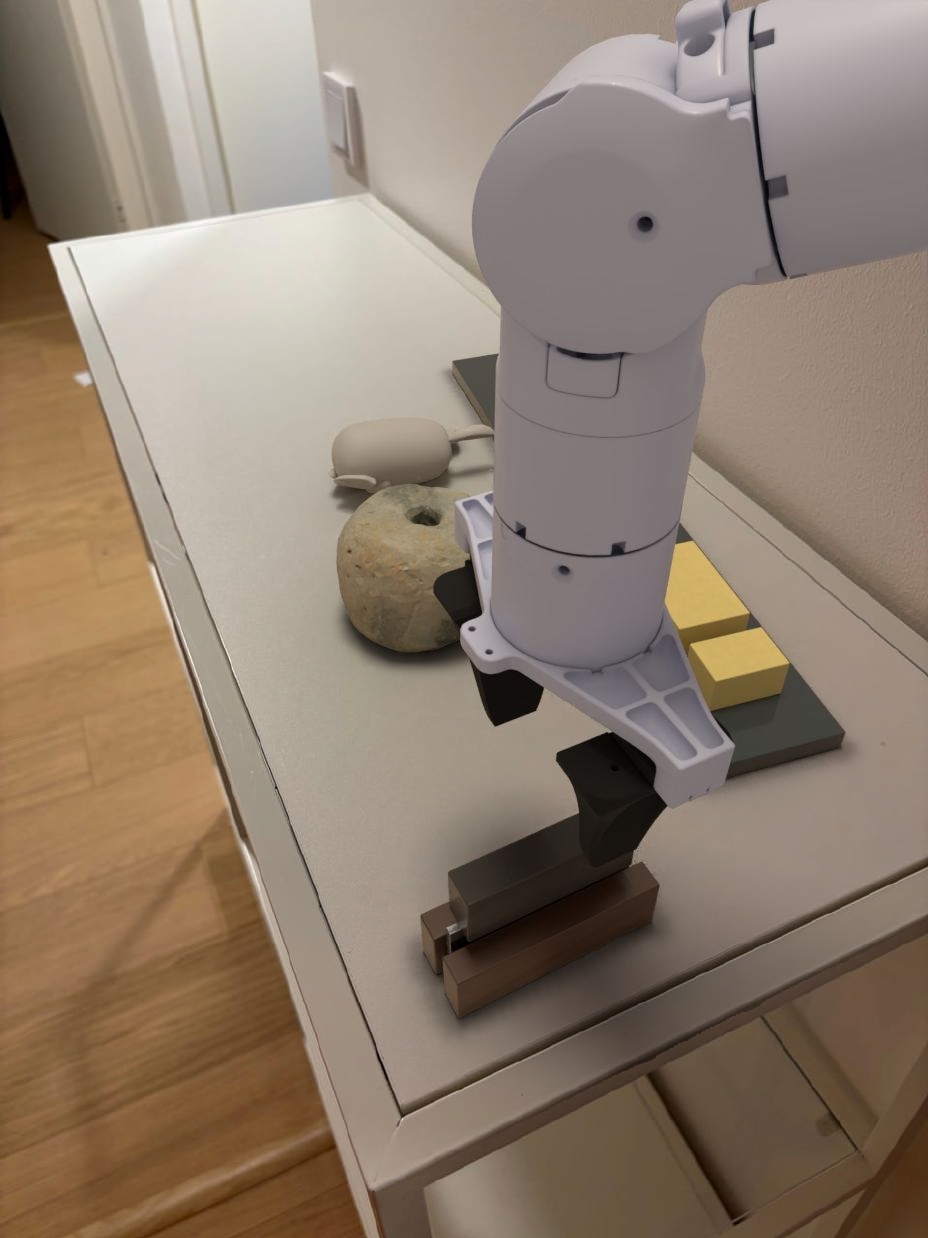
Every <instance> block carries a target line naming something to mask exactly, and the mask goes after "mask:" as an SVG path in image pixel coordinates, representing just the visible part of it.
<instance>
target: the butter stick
mask: <svg viewBox="0 0 928 1238" xmlns="http://www.w3.org/2000/svg"><path fill="white" fill-rule="evenodd" d="M694 541H695V540H694ZM694 541H689V542H684V543H680V544H675V548H674V554H673V559H672V565H671V570H670V576H669V581H668V587H667V592H666V597H665V603H666V606H667V608H668V611H669V613H670V616H671V618H672V621H673V623H674V626H675V628H676V631H677V633H678V636H679V638H680V640H681V643H682V645H683V648H684V650H685V653H686V655H687V656H688V652H689V647H690V644H692V643H696V642H700V641H704V640H709V639H713V638H717V637H721V636H726V635H730V634H734V633H738V632H743V631H746V627H747V623H748V619H749V615H750V612H751V611H750V610H749V611H750V612H749V611H748V610H747V608H748V607H747V606H746V607H747V608H746V607H745V606H744V604H745V603H744V602H743V601H742V602H743V603H744V604H743V603H742V602H741V601H740V599H741V598H740V597H739V596H738V597H739V598H740V599H739V598H738V597H737V596H736V594H737V593H736V592H735V591H734V592H735V593H736V594H735V593H734V592H733V591H732V589H733V588H732V587H731V588H732V589H731V588H730V587H729V585H730V584H729V583H728V582H727V583H728V584H729V585H728V584H727V583H726V582H725V580H726V579H725V578H724V577H723V578H724V579H725V580H724V579H723V578H722V577H721V575H722V574H721V573H720V572H719V573H720V574H721V575H720V574H719V573H718V572H717V570H718V569H717V568H716V569H717V570H716V569H715V568H714V566H715V565H714V564H713V563H712V564H713V565H714V566H713V565H712V564H711V563H710V561H711V560H710V559H709V558H708V559H709V560H710V561H709V560H708V559H707V558H706V556H707V555H706V554H705V553H704V554H705V555H706V556H705V555H704V554H703V553H702V551H703V550H702V549H701V548H700V549H701V550H702V551H701V550H700V549H699V547H700V546H699V545H698V544H697V545H698V546H699V547H698V546H697V545H696V544H695V542H696V541H695V542H694Z"/></svg>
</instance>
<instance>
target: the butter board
mask: <svg viewBox="0 0 928 1238" xmlns="http://www.w3.org/2000/svg"><path fill="white" fill-rule="evenodd" d="M498 354H499V352H497V353H491V354H485V355H479V356H473V357H467V358H461V359H454V360H452V362H451V363H452V367H451V368H452V375H453V376H454V378H455V379H456V381H457V383H458V385H459V386H460V387H461V389H462V391H463V392H464V394H465V396H466V397H467V399H468V400H469V402H470V403H471V405H472V407H473V408H474V410H475V412H476V413H477V415H478V417H479V418H480V420H481V421H482V423H483V425H486V426H488V427H490V428H491V429H493V430H495V386H496V362H497V358H498ZM491 438H492V439H493V440H494V437H491ZM689 541H694V542H695V544H696V545H697V546H698V547H699V549H700V550H701V551H702V553H703V554H704V555H705V556H706V558H707V559H708V560H709V561H710V563H711V564H712V565H713V566H714V568H715V569H716V570H717V572H718V573H719V574H720V575H721V577H722V578H723V579H724V580H725V582H726V583H727V584H728V585H729V587H730V588H731V589H732V591H733V592H734V593H735V594H736V596H737V597H738V598H739V599H740V601H741V602H742V603H743V604H744V606H745V607H746V608H747V610H748V611H749V612H750V615H749V619H748V623H747V627H746V631H747V630H751V629H755V628H760V627H762V628H763V630H764V631H765V632H766V633H767V635H768V636H769V637H770V639H771V640H772V641H773V642H774V644H775V645H776V646H777V647H778V649H779V650H780V651H781V652H782V654H783V655H784V656H785V658H786V659H787V660H788V661H789V663H790V664H789V667H788V671H787V674H786V677H785V681H784V684H783V687H782V691H781V693H780V694H776V695H772V696H768V697H764V698H761V699H757V700H753V701H749V702H745V703H741V704H737V705H733V706H729V707H725V708H721V709H717V710H713V711H710V712H711V713H712V714H713V715H714V716H715V717H716V718H717V719H718V720H719V722H720V723H721V724H722V725H723V726H724V727H725V728H726V729H727V731H728V732H729V733H730V735H731V737H732V740H733V743H734V744H735V748H734V752H733V755H732V759H731V762H730V766H729V769H728V772H727V776H726V778H730V777H734V776H738V775H741V774H744V773H748V772H749V773H750V772H752V771H756V770H760V769H763V768H766V767H770V766H774V765H779V764H781V763H785V762H789V761H793V760H796V759H801V758H804V757H808V756H812V755H816V754H818V753H822V752H826V751H830V750H834V749H839V748H840V747H841V746H842V744H843V741H844V739H845V736H846V735H847V734H846V731H845V729H844V728H843V727H842V726H841V724H840V723H839V721H837V719H836V718H835V717H834V715H833V714H832V713H831V712H830V710H829V709H828V708H827V706H826V705H825V704H824V703H823V701H822V700H821V699H820V697H819V696H818V695H817V693H816V692H815V691H814V690H813V688H811V686H810V685H809V683H808V682H807V681H806V680H805V679H804V677H803V676H802V675H801V673H800V672H799V671H798V669H797V668H796V667H795V666H794V664H793V663H792V662H791V661H790V659H789V658H788V657H787V656H786V655H785V654H784V652H783V651H782V650H781V648H780V647H779V645H777V643H776V642H775V641H774V640H773V638H772V637H771V636H770V635H769V633H768V632H767V630H766V629H765V628H764V626H763V625H762V624H761V623H760V622H759V620H758V619H757V618H756V616H754V615H753V613H752V611H751V610H750V609H749V608H748V606H747V605H746V604H745V603H744V601H742V599H741V598H740V596H739V595H738V594H737V593H736V592H735V590H734V589H733V588H732V586H731V585H730V584H729V583H728V581H727V580H726V579H725V578H724V576H723V574H721V572H720V571H719V570H718V569H717V567H716V566H715V564H713V562H712V561H711V559H709V557H708V556H707V555H706V554H705V552H704V550H702V548H701V547H700V546H699V544H698V543H697V542H696V540H694V538H693V537H692V536H691V535H690V533H689V532H688V530H686V528H685V527H684V525H683V524H682V523H681V521H680V522H679V527H678V533H677V539H676V544H680V543H684V542H689ZM687 657H688V656H687Z"/></svg>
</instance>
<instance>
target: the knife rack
mask: <svg viewBox="0 0 928 1238" xmlns="http://www.w3.org/2000/svg"><path fill="white" fill-rule="evenodd" d="M660 886H661V884H660V883H659V881H658V880H657V878H656V877H655V876H654V875H653V874H652V872H651V871H650V869H649V868H648V867H647V865H646V864H645V863H644V862H643V861H640V862H638V863H635V864H633V865H630V866H629V868H627V869H625V870H623V871H621V872H619V873H616V874H614V875H612V876H610V877H608V878H606V879H604V880H602V881H600V882H598V883H596V884H594V885H591V886H589V887H587V888H585V889H583V890H581V891H579V892H577V893H575V894H573V895H571V896H569V897H566V898H564V899H562V900H560V901H558V902H556V903H554V904H552V905H550V906H548V907H546V908H543V909H541V910H539V911H537V912H535V913H533V914H531V915H529V916H527V917H525V918H523V919H521V920H518V921H516V922H514V923H512V924H510V925H508V926H506V927H504V928H502V929H500V930H498V931H496V932H493V933H491V934H489V935H487V936H485V937H483V938H481V939H479V940H477V941H475V942H473V943H471V944H468V945H466V946H464V947H462V948H460V949H458V950H456V951H454V952H452V953H450V954H448V955H447V936H446V927H448V926H450V925H452V924H454V923H457V921H456V919H455V918H454V916H453V914H452V912H451V911H450V906H449V901H447V902H445V903H442V904H440V905H438V906H436V907H434V908H432V909H429V910H428V911H427V910H426V911H425V912H423V913H421V914H420V915H419V918H420V919H419V920H420V930H421V942H422V943H421V944H422V951H423V953H424V955H425V957H426V959H427V961H428V963H429V964H430V967H431V969H432V970H433V972H434V974H435V975H438V974H441V973H442V974H443V989H444V990H443V991H444V994H445V995H446V997H447V999H448V1001H449V1003H450V1005H451V1007H452V1009H453V1011H454V1013H455V1015H456V1016H457V1018H458V1019H460V1018H462V1017H465V1016H466V1015H468V1014H470V1013H472V1012H474V1011H476V1010H478V1009H480V1008H483V1007H484V1006H486V1005H488V1004H490V1003H493V1002H494V1001H496V1000H498V999H500V998H502V997H504V996H506V995H508V994H510V993H511V992H512V993H513V992H514V991H516V990H518V989H519V988H522V987H524V986H525V985H528V984H529V983H532V982H534V981H535V980H537V979H539V978H542V977H543V976H545V975H547V974H549V973H551V972H553V971H555V970H558V969H559V968H561V967H563V966H566V965H567V964H569V963H571V962H574V961H575V960H577V959H579V958H581V957H583V956H585V955H587V954H589V953H591V952H593V951H595V950H597V949H599V948H601V947H602V946H605V945H606V944H609V943H610V942H613V941H615V940H617V939H618V938H621V937H622V936H624V935H626V934H628V933H631V932H632V931H634V930H636V929H638V928H640V927H642V926H644V925H646V924H648V923H650V922H652V921H653V918H654V914H655V910H656V906H657V905H656V904H657V901H658V894H659V892H660Z"/></svg>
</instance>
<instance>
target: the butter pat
mask: <svg viewBox="0 0 928 1238" xmlns="http://www.w3.org/2000/svg"><path fill="white" fill-rule="evenodd" d="M762 627H763V626H762ZM762 627H760V628H755V629H751V630H747V631H743V632H738V633H734V634H730V635H726V636H721V637H717V638H713V639H709V640H704V641H700V642H696V643H692V644H690V647H689V652H688V657H687V658H688V660H689V663H690V665H691V668H692V670H693V673H694V675H695V678H696V680H697V683H698V685H699V687H700V690H701V692H702V695H703V697H704V700H705V702H706V704H707V706H708V708H709V710H710V711H713V710H717V709H721V708H725V707H729V706H733V705H737V704H741V703H745V702H749V701H753V700H757V699H761V698H764V697H768V696H772V695H776V694H780V693H781V691H782V687H783V684H784V681H785V677H786V674H787V671H788V667H789V664H790V663H789V661H790V660H789V659H788V658H787V659H788V660H789V661H788V660H787V659H786V658H785V656H786V655H785V654H784V653H783V654H784V655H785V656H784V655H783V654H782V652H783V651H782V650H781V649H780V650H781V651H782V652H781V651H780V650H779V649H778V647H779V646H778V645H777V644H776V645H777V646H778V647H777V646H776V645H775V644H774V642H775V641H774V640H773V639H772V640H773V641H774V642H773V641H772V640H771V639H770V637H771V636H770V635H769V634H768V635H769V636H770V637H769V636H768V635H767V633H768V632H767V631H766V630H765V631H766V632H767V633H766V632H765V631H764V630H763V628H764V627H763V628H762Z"/></svg>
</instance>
